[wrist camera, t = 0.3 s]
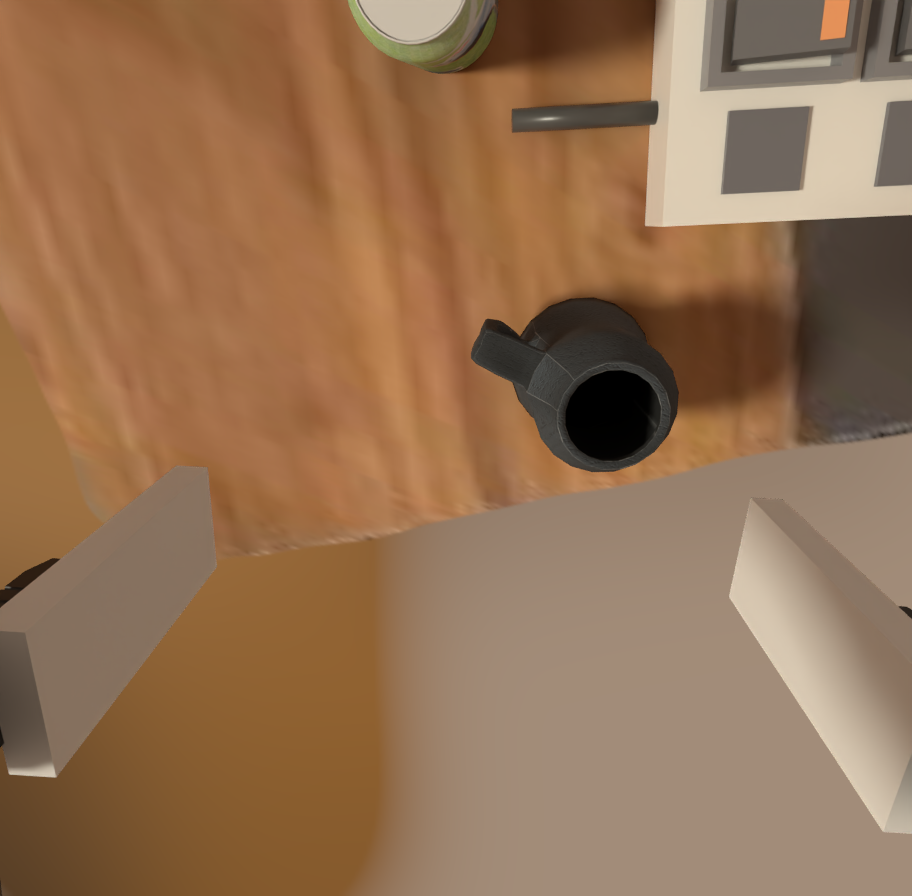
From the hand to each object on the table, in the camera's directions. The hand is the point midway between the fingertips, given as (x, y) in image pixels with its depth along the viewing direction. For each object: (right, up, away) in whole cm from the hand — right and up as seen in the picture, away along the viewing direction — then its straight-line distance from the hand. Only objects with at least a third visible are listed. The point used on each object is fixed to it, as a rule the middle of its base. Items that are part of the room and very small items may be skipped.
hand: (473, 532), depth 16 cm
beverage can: (-1, +26, +20) cm, 33 cm away
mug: (+6, +8, +26) cm, 28 cm away
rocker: (+15, +22, +15) cm, 31 cm away
